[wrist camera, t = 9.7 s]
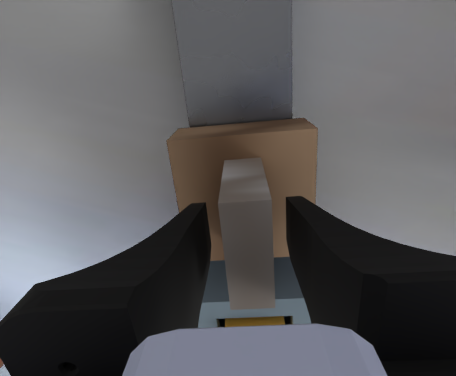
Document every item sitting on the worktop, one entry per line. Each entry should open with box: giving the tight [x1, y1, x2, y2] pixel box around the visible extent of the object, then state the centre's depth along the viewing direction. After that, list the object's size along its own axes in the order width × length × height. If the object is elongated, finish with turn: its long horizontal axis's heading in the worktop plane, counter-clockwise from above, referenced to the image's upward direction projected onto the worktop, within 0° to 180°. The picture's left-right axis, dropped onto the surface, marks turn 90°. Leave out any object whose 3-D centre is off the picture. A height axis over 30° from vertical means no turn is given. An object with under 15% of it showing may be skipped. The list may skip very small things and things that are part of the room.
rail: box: [172, 0, 292, 128], centre depth 13 cm, size 5×20×2 cm, turn 5°
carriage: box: [167, 118, 318, 310], centre depth 12 cm, size 6×6×6 cm
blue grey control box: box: [198, 257, 311, 328], centre depth 17 cm, size 9×6×5 cm, turn 95°
